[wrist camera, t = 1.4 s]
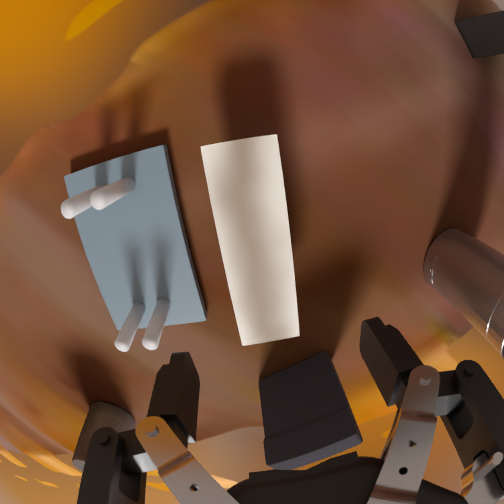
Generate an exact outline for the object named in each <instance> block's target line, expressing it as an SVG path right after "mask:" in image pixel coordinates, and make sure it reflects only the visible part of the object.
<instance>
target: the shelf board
mask: <svg viewBox="0 0 504 504" xmlns="http://www.w3.org/2000/svg"><path fill="white" fill-rule="evenodd" d="M201 152H202V158H203V163H204V169H205V174H206V179H207V184H208V190H209V195H210V200H211V205H212V210H213V215H214V220H215V225H216V230H217V234H218V239H219V244H220V249H221V253H222V258H223V263H224V267H225V272H226V276H227V281H228V285H229V290H230V294H231V299H232V303H233V307H234V312H235V316H236V320H237V325H238V329H239V333H240V337H241V341H242V346H245V345H251V344H258V343H264V342H270V341H275V340H281V339H286V338H292V337H297V336H300V334H299V321H298V309H297V298H296V287H295V276H294V266H293V256H292V247H291V238H290V229H289V220H288V212H287V204H286V196H285V188H284V181H283V173H282V166H281V159H280V152H279V145H278V139H277V134H274V135H266V136H259V137H252V138H246V139H239V140H233V141H227V142H222V143H216V144H211V145H206V146H201Z"/></svg>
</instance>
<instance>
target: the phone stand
mask: <svg viewBox="0 0 504 504" xmlns="http://www.w3.org/2000/svg"><path fill="white" fill-rule="evenodd" d="M455 23H456V25H457V27H458V29H459V31H460V33H461V34H462V36H463V38H464V40H465V42H466V44H467V46H468V48H469V50H470V52H471V54H472V57H473V58H479V57H485V56H491V55H497V54H504V11H500V12H494V13H490V14H485V15H481V16H476V17H472V18H468V19H465V20H461V21H457V22H455Z"/></svg>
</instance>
